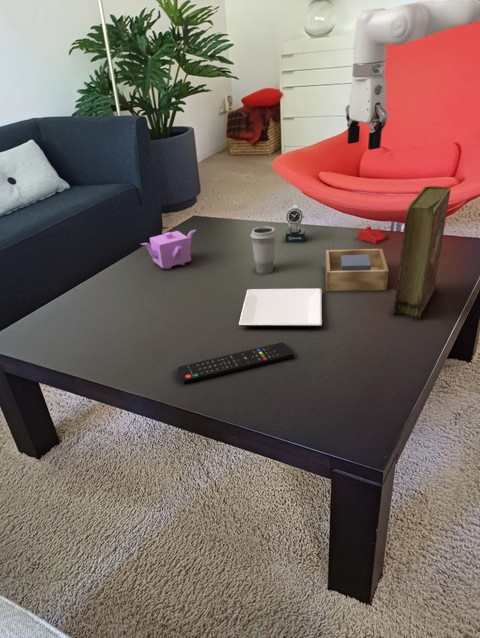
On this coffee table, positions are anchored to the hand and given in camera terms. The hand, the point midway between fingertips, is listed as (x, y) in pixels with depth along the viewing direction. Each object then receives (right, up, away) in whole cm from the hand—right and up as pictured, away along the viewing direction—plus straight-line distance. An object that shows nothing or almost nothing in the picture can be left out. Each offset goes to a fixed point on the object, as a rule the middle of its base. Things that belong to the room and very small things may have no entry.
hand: (363, 145), depth 137 cm
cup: (-24, -31, +11) cm, 41 cm away
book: (+8, -43, -13) cm, 46 cm away
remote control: (-35, -58, -27) cm, 73 cm away
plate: (-23, -45, -10) cm, 51 cm away
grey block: (-2, -34, +1) cm, 35 cm away
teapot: (-51, -27, +22) cm, 62 cm away
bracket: (+10, -19, +23) cm, 31 cm away
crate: (-2, -35, +1) cm, 35 cm away
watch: (-13, -18, +28) cm, 36 cm away
